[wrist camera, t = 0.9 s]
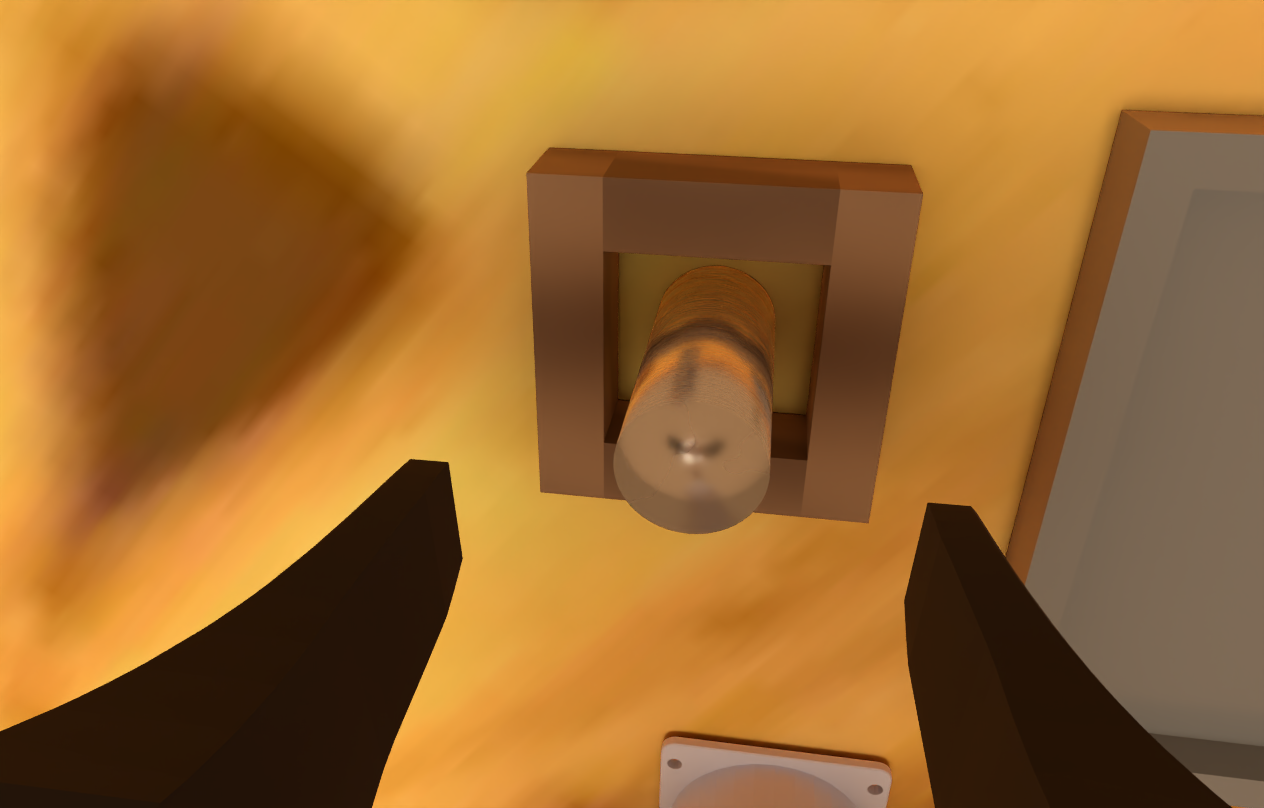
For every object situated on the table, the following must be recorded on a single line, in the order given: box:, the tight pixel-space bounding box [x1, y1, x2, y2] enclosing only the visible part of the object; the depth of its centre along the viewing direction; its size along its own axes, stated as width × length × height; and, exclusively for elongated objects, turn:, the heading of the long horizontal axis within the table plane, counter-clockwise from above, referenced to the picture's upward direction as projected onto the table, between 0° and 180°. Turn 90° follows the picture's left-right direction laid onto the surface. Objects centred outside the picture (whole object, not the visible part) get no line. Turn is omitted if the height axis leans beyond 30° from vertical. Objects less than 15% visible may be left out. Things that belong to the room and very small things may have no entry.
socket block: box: [527, 148, 923, 523], centre depth 25 cm, size 9×9×2 cm
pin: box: [613, 266, 775, 534], centre depth 22 cm, size 3×3×8 cm
